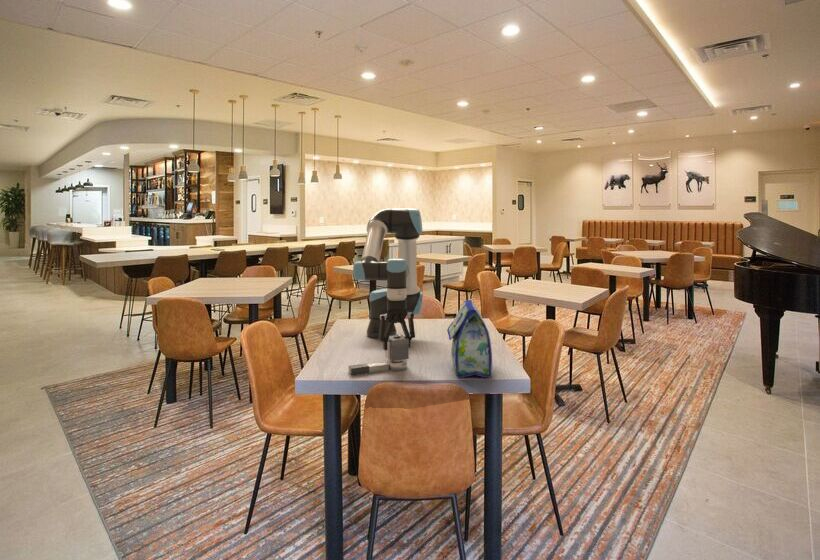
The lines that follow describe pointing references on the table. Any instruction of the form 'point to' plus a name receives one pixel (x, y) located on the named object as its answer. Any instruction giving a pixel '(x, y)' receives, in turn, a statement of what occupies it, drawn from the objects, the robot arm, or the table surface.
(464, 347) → the lunch bag
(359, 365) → the chrome ball-end bar
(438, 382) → the table surface
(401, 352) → the grey square block
